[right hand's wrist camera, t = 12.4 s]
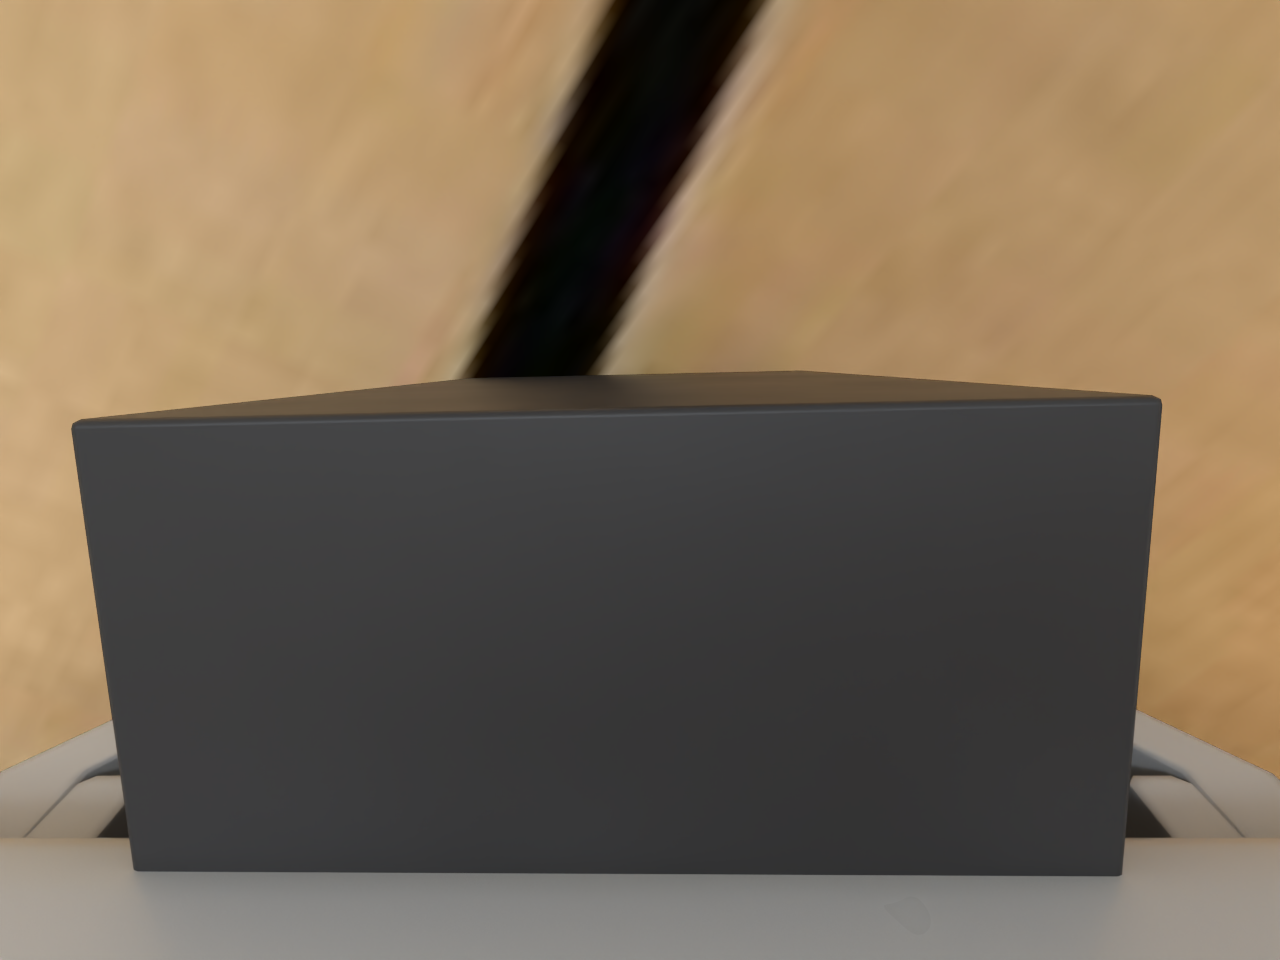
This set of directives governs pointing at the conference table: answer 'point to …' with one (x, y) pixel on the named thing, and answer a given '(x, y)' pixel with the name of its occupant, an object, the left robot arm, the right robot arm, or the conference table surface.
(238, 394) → the conference table surface
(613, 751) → the box
